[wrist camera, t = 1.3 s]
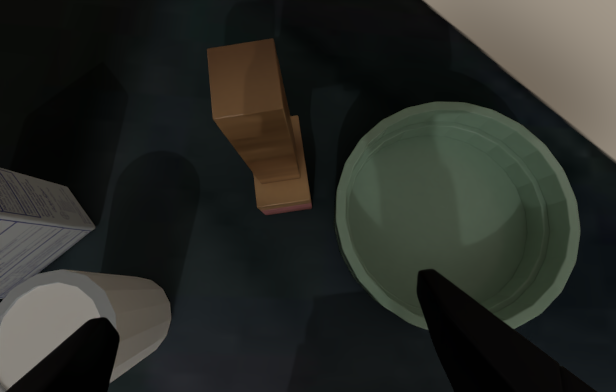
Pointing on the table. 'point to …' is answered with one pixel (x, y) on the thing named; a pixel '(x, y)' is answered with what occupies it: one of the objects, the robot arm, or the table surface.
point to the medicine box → (35, 226)
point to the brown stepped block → (260, 122)
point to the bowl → (457, 211)
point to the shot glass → (79, 318)
